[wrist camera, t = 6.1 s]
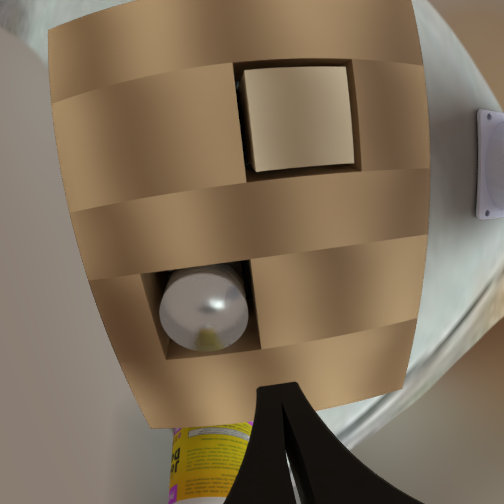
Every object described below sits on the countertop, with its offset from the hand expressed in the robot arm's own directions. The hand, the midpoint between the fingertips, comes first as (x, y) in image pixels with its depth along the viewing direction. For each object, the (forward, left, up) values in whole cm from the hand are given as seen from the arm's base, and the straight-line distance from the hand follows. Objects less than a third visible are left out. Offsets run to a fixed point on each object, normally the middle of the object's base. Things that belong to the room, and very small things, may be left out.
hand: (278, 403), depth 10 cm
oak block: (0, -4, -10) cm, 11 cm away
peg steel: (+3, -1, -10) cm, 10 cm away
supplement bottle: (+5, +13, -10) cm, 17 cm away
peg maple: (-2, -9, -10) cm, 13 cm away
